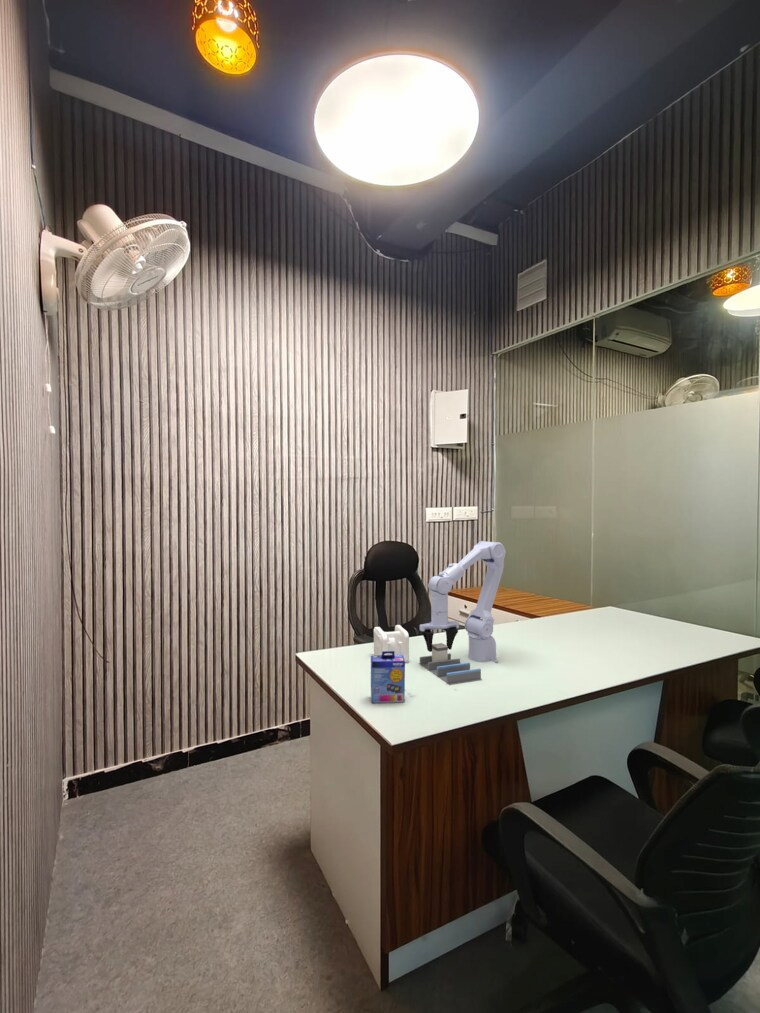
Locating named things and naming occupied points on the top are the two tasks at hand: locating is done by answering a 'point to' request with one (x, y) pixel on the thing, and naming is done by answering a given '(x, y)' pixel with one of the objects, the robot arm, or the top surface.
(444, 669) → the grey slotted rack
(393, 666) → the ink cartridge box
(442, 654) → the beige block
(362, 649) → the top surface
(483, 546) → the robot arm
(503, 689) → the top surface
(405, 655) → the cable organizer
